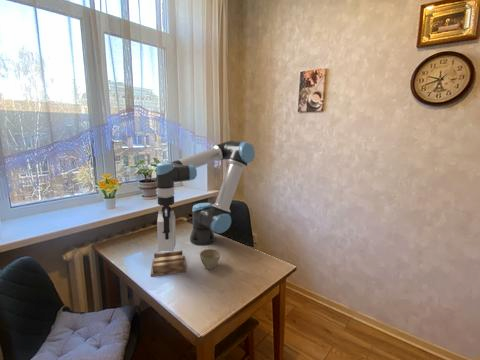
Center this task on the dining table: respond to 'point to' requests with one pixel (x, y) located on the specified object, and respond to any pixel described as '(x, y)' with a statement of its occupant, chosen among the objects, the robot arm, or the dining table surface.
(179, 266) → the display stand
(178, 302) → the dining table surface
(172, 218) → the milk carton
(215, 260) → the flower pot
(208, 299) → the dining table surface
